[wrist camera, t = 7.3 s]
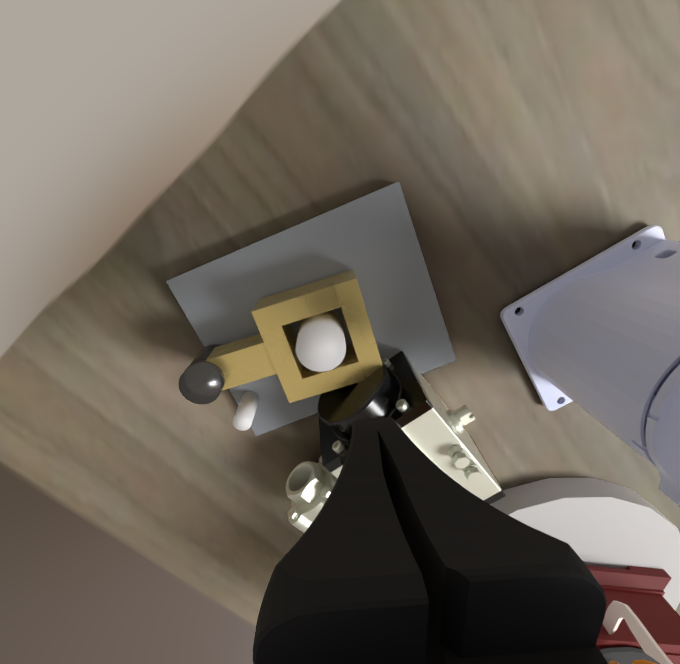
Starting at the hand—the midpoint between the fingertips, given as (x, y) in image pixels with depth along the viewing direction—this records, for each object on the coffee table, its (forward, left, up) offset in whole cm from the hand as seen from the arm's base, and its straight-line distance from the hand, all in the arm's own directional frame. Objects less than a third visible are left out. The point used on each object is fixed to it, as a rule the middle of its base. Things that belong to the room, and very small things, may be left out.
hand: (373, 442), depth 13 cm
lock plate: (+1, -2, -10) cm, 10 cm away
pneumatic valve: (+8, +8, -7) cm, 13 cm away
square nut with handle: (+3, -2, -9) cm, 10 cm away
